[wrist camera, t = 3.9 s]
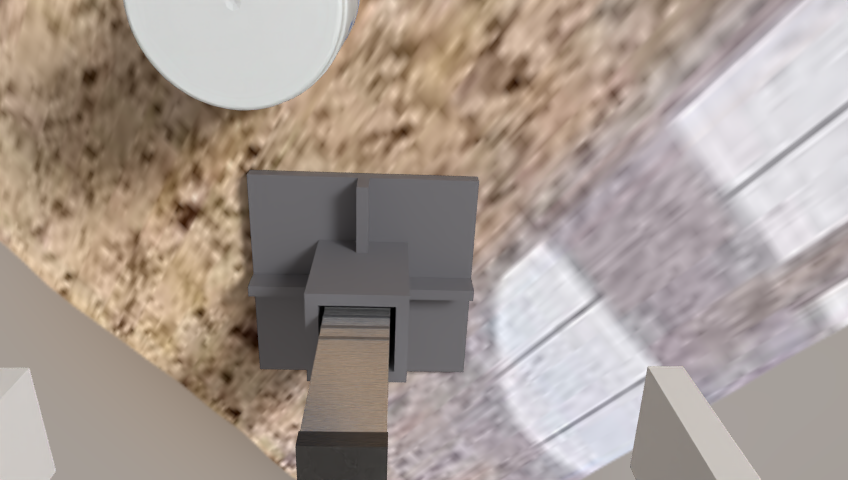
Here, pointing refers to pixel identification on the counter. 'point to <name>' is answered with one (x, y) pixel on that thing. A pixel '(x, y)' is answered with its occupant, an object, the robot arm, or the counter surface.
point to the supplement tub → (241, 46)
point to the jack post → (347, 398)
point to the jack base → (362, 262)
